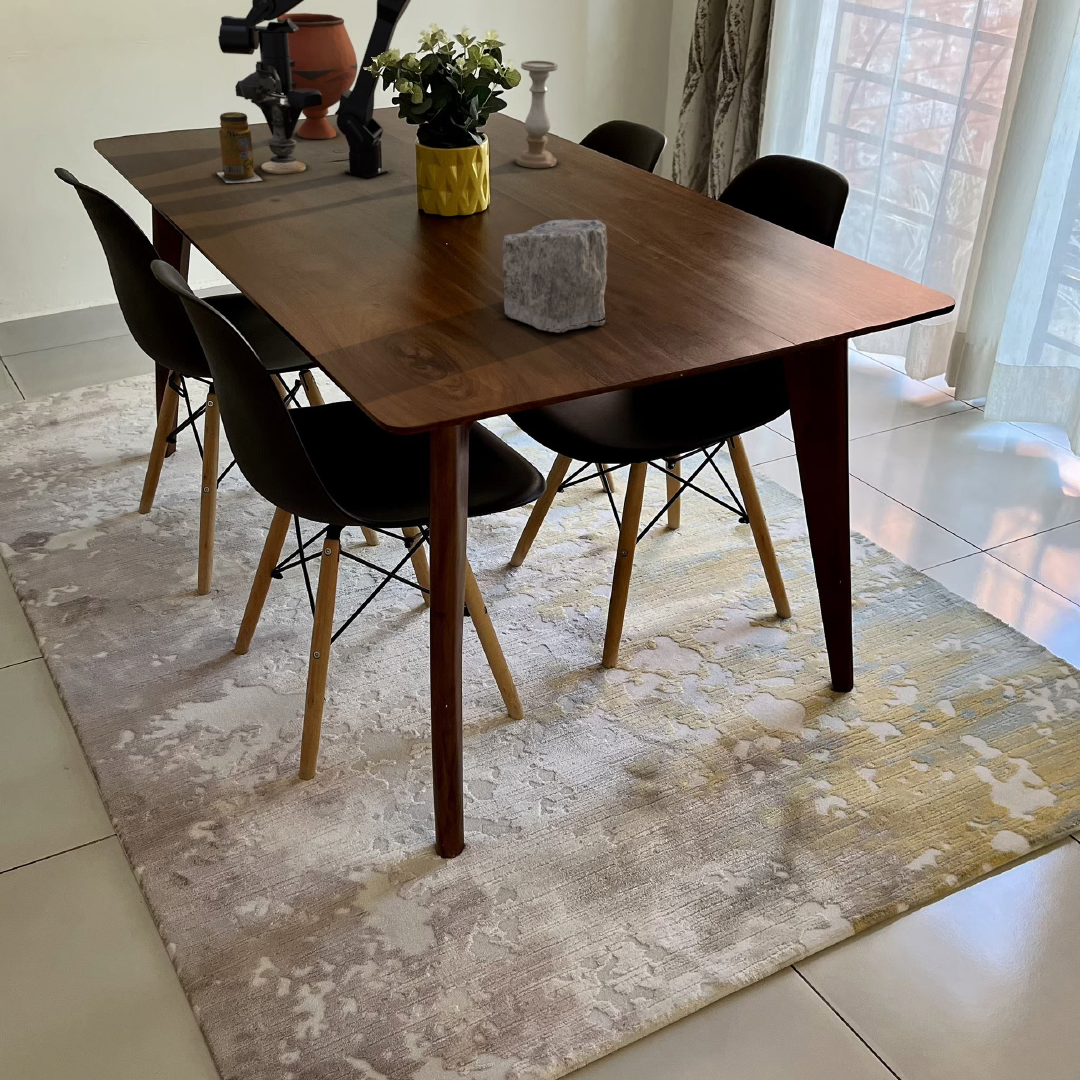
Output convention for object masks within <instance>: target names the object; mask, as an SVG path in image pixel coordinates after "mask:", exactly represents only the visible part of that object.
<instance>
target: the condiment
mask: <svg viewBox="0 0 1080 1080" xmlns="http://www.w3.org/2000/svg"><path fill="white" fill-rule="evenodd" d="M248 119H249V118H248V115H247V114H246V113H244V112H238V111H230V112H229V111H227V112H223V113H221V114H220V115H219V121H220V128H219V131H218V132H219V143H220V152H221V153H220V154H221V163H222V171H220V172H219V171H218V172H216V174H217V175H218V176H219V178H221V179H222V180H223V182H225V183H226V184H236V183H237V184H238V183H239V184H240V183H251V182H260V181H263V179H262V177H260V176H259V175H258V174H256V172H255V164H254V155H253V145H252V140H253V139H252V133H251V129H250V127H249V122H248Z"/></svg>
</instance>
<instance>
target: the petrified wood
mask: <svg viewBox="0 0 1080 1080" xmlns="http://www.w3.org/2000/svg"><path fill="white" fill-rule="evenodd" d="M501 252H502V254H503V255H502V262H501V268H502V276H503V294H504V295H503V296H504V301H503V308H504V314H505V316H507V317H508V318H510V319H513V320H516V321H519V322H522V323H525V324H526V325H527V324H528V325H529V326H532V327H534V328H535V329H537V330H540V331H546V332H549V333H565V332H567V331H569V330H578V329H583V328H587V327H588V326H593V327H599V326H605V323H606V311H605V292H606V286H607V282H608V281H607V280H608V271H607V257H608V235H607V226H606V224H605V223H603V222H602V220H600V219H557V220H556V219H553V220H549V221H546V222H544V223H541V224H539V225H535V226H532V228H531V229H528V230H526V231H525V232H520V233H519V232H518V233H514V234H512V233H510V234H506V235H504V236H503V239H502V248H501ZM603 318H605V320H603V321H600V322H588V323H586V324H581V323H584V322H587V321H598V320H601V319H603ZM579 324H580V325H579ZM570 325H577V326H570ZM543 327H545V328H543ZM566 327H568V328H566ZM547 328H550V329H547ZM564 328H565V329H564ZM556 329H560V330H556ZM562 329H564V330H562Z"/></svg>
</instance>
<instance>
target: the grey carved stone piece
mask: <svg viewBox="0 0 1080 1080" xmlns="http://www.w3.org/2000/svg"><path fill="white" fill-rule="evenodd" d="M277 102H278V103H276V104H275V105H273V107H272V114H273V122H271V124H273V131H274V135H272V138H271V139H269V140H268V141H267V142H266V143H267V145H268V147H269V150H270V152H271V153H272V154H274V155H273V156H272V157H271V158H270V159H269V160H270V161H272V162H275V163H290V162H294V161H297V158H296V157H295V156H294V155H292V154H293V153H294V152H295V150H296V144H297V140H295V139H292V138H291V139H286V135H285V130H284V121H283V113H282V112H281V110H280V109H279V108H278V107H277V106H279V105H283V104H284V103H282V102H281V101H280V100H279V99H278V100H277ZM270 161H269V162H270Z"/></svg>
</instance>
